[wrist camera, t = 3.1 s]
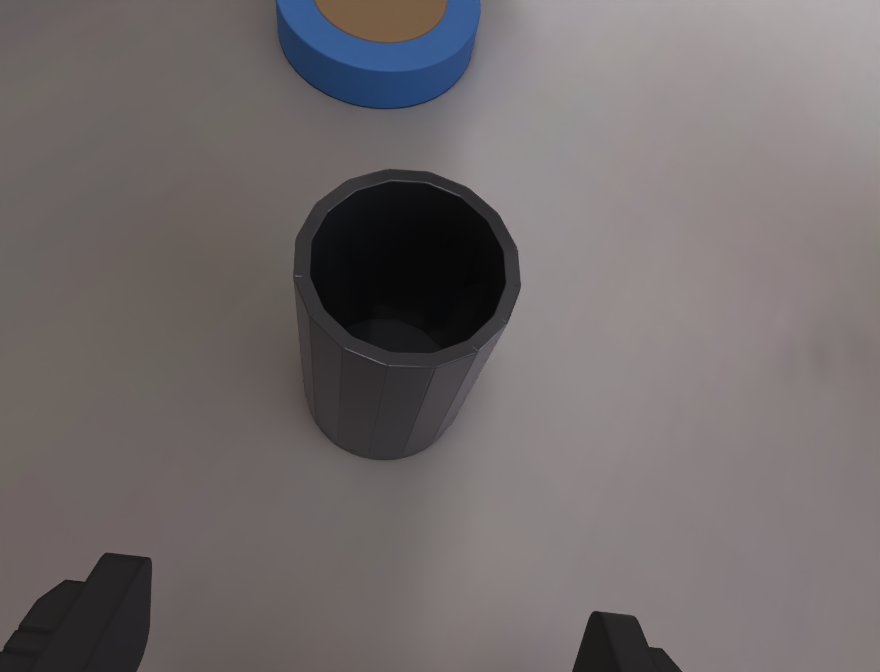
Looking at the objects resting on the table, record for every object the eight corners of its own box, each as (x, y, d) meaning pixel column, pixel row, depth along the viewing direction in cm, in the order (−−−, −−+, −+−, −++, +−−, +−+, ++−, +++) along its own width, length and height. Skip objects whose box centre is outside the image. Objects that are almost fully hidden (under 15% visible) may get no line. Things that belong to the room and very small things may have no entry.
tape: (425, -49, 39) (432, -93, 37) (503, 83, 36) (515, 44, 34) (251, -18, 36) (246, -63, 34) (318, 129, 33) (318, 89, 31)
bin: (423, 296, 30) (463, 147, 21) (485, 425, 28) (558, 322, 19) (283, 342, 28) (262, 202, 19) (338, 485, 26) (344, 402, 17)
